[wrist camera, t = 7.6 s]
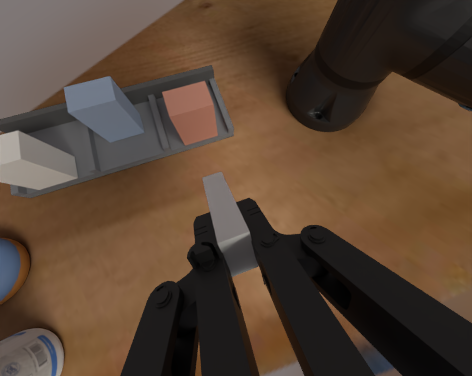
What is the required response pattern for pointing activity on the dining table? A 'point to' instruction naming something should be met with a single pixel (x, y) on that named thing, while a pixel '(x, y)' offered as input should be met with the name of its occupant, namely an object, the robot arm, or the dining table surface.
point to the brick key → (192, 112)
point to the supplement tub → (31, 354)
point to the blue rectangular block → (104, 109)
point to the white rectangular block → (33, 162)
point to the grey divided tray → (125, 150)
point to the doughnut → (12, 267)
